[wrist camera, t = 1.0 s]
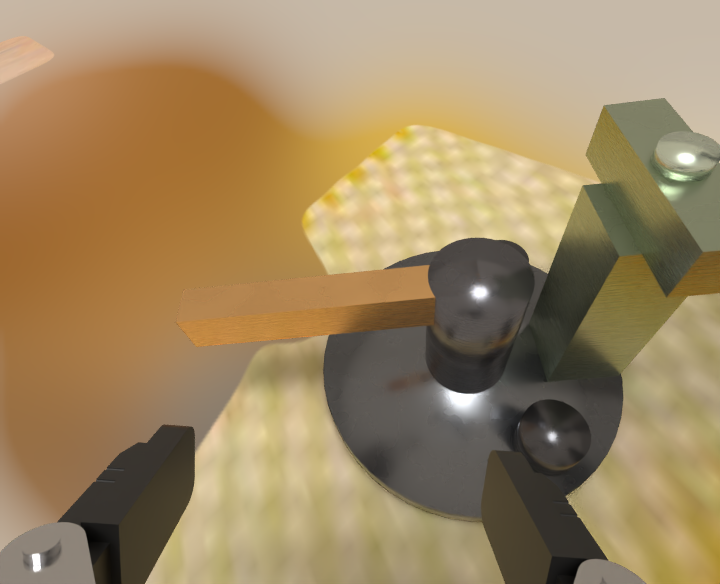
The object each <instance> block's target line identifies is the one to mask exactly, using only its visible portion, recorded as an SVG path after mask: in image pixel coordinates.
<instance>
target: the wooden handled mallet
mask: <svg viewBox="0 0 720 584" xmlns="http://www.w3.org/2000/svg"><path fill="white" fill-rule="evenodd" d="M534 286H535V278H534V273H533V270H532V268H531V266H530V264H529V262H528V261H527V260H526V258H525V257H524V256H523V255H522V254H521V253H520V252H518V251H517V250H516V249H514V248H513V247H511V246H509V245H507V244H505V243H502V242H499V241H496V240H492V239H487V238H468V239H462V240H459V241H456V242H453V243H451V244H449V245H447V246H445V247H444V248H442V249H441V250H440V251H439V252H438V253H437V254H436V255H435V256H434V258H433V259H432V261H431V263H430V265H424V266H414V267H404V268H394V269H384V270H374V271H364V272H354V273H344V274H334V275H324V276H315V277H304V278H294V279H284V280H274V281H264V282H255V283H244V284H234V285H224V286H215V287H204V288H194V289H184V290H183V294H182V299H181V302H180V306H179V310H178V314H177V318H176V323H177V325H178V326H179V327H180V328H181V329H182V330H183V332H184V333H185V334H186V335H187V336H188V337H189V339H190V340H191V341H192V342H193V343H194V345H195V346H196V347H199V346H210V345H221V344H233V343H244V342H255V341H265V340H277V339H287V338H298V337H309V336H320V335H331V334H342V333H353V332H364V331H375V330H386V329H397V328H408V327H419V326H426V352H425V356H426V363H427V366H428V369H429V371H430V373H431V374H432V376H433V377H434V378H435V379H436V380H437V381H438V382H439V383H440V384H441V385H443V386H444V387H446V388H448V389H450V390H453V391H456V392H460V393H479V392H482V391H485V390H487V389H489V388H491V387H492V386H494V385H495V384H496V383H497V382H498V381H499V380H500V378H501V377H502V375H503V373H504V371H505V368H506V365H507V362H508V360H509V357H510V354H511V351H512V349H513V346H514V343H515V340H516V338H517V335H518V332H519V330H520V327H521V324H522V321H523V319H524V316H525V313H526V310H527V308H528V305H529V302H530V299H531V297H532V294H533V291H534Z"/></svg>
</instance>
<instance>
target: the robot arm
mask: <svg viewBox="0 0 720 584" xmlns="http://www.w3.org/2000/svg"><path fill="white" fill-rule="evenodd" d="M194 479H195V434H194V429H193V427H189V426H175V425H162V426H161V427H160V428H159V430H158V431H157V432H156V433H155V434H154V435H153V437H152V438H151V439H150V440H149V441H148V442H147V443H137V444H135V445H133V446H132V447H130V448H128V449H127V450H125V451H123V452H122V453H120V454H119V455H118V456H117V457H116V458H115V459H114V460H113V461H112V463H111V464H110V465H109V466H108V467H107V470H104V471H103V472H102V474H101V475H100V476H99V477H98V478H97V480H96V482H93V483H92V485H91V486H90V487H89V488H88V489H87V490H86V491H85V492H84V493H83V494H82V495H81V497H80V498H79V499H78V500H77V501H76V502H75V503H74V504H73V505H72V506H71V507H70V509H69V510H68V511H67V512H66V513H65V514H64V515H63V516H62V518H60V520H59V521H58V522H57V523H51V524H46V525H43V526H40V527H37V528H34V529H32V530H30V531H28V532H25V533H24V534H22V535H20V536H18V537H17V538H15V539H14V540H13V541H11V542H10V543H9V544H8V545H7V546H6V547H5V548H4V549H3V550H2V551H1V552H0V584H145V582H146V580H147V579H148V577H149V575H150V573H151V571H152V569H153V568H154V566H155V564H156V562H157V560H158V558H159V557H160V555H161V553H162V551H163V549H164V547H165V546H166V544H167V542H168V540H169V538H170V536H171V535H172V533H173V531H174V529H175V527H176V525H177V524H178V522H179V520H180V518H181V516H182V514H183V513H184V511H185V509H186V507H187V505H188V503H189V501H190V498H191V495H192V491H193V487H194ZM481 515H482V521H483V525H484V528H485V531H486V533H487V536H488V539H489V541H490V544H491V547H492V549H493V552H494V554H495V557H496V560H497V562H498V565H499V568H500V570H501V573H502V576H503V578H504V581H505V584H646V583H645V582H644V581H643V580H642V579H641V578H639V577H638V576H637V575H636V574H634V573H633V572H631V571H630V570H628V569H626V568H624V567H623V566H620V565H618V564H616V563H613V562H610V561H608V559H607V558H606V556H605V555H604V553H603V552H602V550H601V549H600V547H599V546H598V544H597V543H596V541H595V540H594V538H593V537H592V536H591V534H590V533H589V531H588V530H587V528H586V527H585V525H584V524H583V522H582V521H581V519H580V518H578V517H577V514H576V512H575V511H574V509H573V508H572V506H571V505H569V504H568V500H567V499H566V497H565V496H564V494H563V493H562V492H561V490H560V489H559V487H558V486H557V485H556V484H554V483H553V482H552V481H551V480H549V479H548V478H547V477H546V476H545V475H543V474H542V473H534V471H533V470H532V468H531V467H530V465H529V463H528V462H527V460H526V459H525V457H524V456H523V454H522V453H521V452H513V451H499V450H492V451H491V452H490V454H489V458H488V464H487V469H486V475H485V481H484V487H483V493H482V499H481Z"/></svg>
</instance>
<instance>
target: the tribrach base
mask: <svg viewBox="0 0 720 584" xmlns="http://www.w3.org/2000/svg"><path fill="white" fill-rule="evenodd" d="M586 156H587V158H588V160H589V161H590V163H591V165H592V167H593V169H594V170H595V172H596V174H597V176H598V178H599V179H600V181H601V183H602V184H593V185H584V186H582V189H581V191H580V194H579V196H578V199H577V201H576V204H575V207H574V209H573V212H572V214H571V217H570V219H569V222H568V224H567V227H566V230H565V232H564V235H563V237H562V240H561V242H560V245H559V248H558V250H557V253H556V255H555V258H554V260H553V263H552V265H551V268H550V271H549V273H548V274H547V273H545V272H543V271H541V270H540V269H538V268H536V267H533V266H531V265H530V266H531V268H532V270H533V273H534V278H535V286H534V291H533V294H532V297H531V299H530V302H529V305H528V308H527V310H526V313H525V316H524V319H523V321H522V324H521V327H520V330H519V332H518V335H517V338H516V340H515V343H514V346H513V349H512V351H511V354H510V357H509V360H508V362H507V365H506V368H505V371H504V373H503V375H502V377H501V378H500V380H499V381H498V382H497V383H496V384H495V385H494V386H492V387H491V388H489V389H487V390H485V391H482V392H479V393H460V392H456V391H453V390H450V389H448V388H446V387H444V386H443V385H441V384H440V383H439V382H438V381H437V380H436V379H435V378H434V377H433V376H432V374H431V373H430V371H429V369H428V366H427V363H426V356H425V352H426V326H419V327H408V328H397V329H386V330H375V331H364V332H353V333H342V334H331V335H329V337H328V341H327V346H326V350H325V356H324V369H323V371H324V387H325V392H326V397H327V401H328V405H329V408H330V411H331V414H332V417H333V419H334V422H335V424H336V427H337V429H338V431H339V433H340V435H341V437H342V439H343V441H344V442H345V444H346V446H347V448H348V449H349V451H350V452H351V454H352V455H353V456H354V458H355V459H356V461H357V462H358V463H359V464H360V466H361V467H362V468H363V469H364V470H365V471H366V472H367V473H368V474H369V475H370V476H371V477H372V478H373V479H374V480H375V481H376V482H378V483H379V484H380V485H381V486H382V487H384V488H385V489H386V490H387V491H389V492H390V493H392V494H393V495H395V496H397V497H398V498H400V499H401V500H403V501H405V502H406V503H408V504H411V505H413V506H415V507H417V508H419V509H422V510H424V511H426V512H429V513H432V514H436V515H439V516H442V517H446V518H450V519H457V520H463V521H470V522H483V521H482V515H481V499H482V493H483V487H484V481H485V475H486V469H487V464H488V458H489V454H490V452H491V451H492V450H499V451H513V452H521V453H522V454H523V456H524V457H525V459H526V460H527V462H528V463H529V465H530V467H531V468H532V470H533V471H534V473H542V474H543V475H545V476H546V477H547V478H548V479H549V480H551V481H552V482H553V483H554V484H556V485H557V486H558V487H559V489H560V490H561V492H562V493H563V494H564V496H566V495H568V494H569V493H571V492H572V491H573V490H575V489H576V488H577V487H579V486H580V485H581V484H582V483H583V482H584V481H585V480H586V479H587V478H588V477H589V476H590V475H591V474H592V473H593V472H594V471H595V470H596V469H597V468H598V466H599V465H600V464H601V462H602V461H603V459H604V458H605V457H606V455H607V454H608V452H609V449H610V447H611V445H612V443H613V441H614V439H615V437H616V434H617V430H618V427H619V423H620V420H621V414H622V405H623V387H622V377H621V372H622V371H623V370H624V369H625V368H626V367H627V366H628V364H629V363H630V362H631V361H632V360H633V359H634V357H635V356H636V355H637V354H638V353H639V352H640V351H641V349H642V348H643V347H644V346H645V345H646V344H647V342H648V341H649V340H650V339H651V338H652V337H653V336H654V334H655V333H656V332H657V331H658V330H659V329H660V327H661V326H662V325H663V324H664V323H665V322H666V321H667V319H668V318H669V317H670V316H671V315H672V314H673V312H674V311H675V310H676V309H677V308H678V307H679V306H680V304H681V303H682V302H683V301H684V300H685V299H686V297H687V296H693V295H703V294H714V293H720V163H719V161H720V145H719V144H718V143H717V142H716V141H714V140H713V139H711V138H709V137H707V136H705V135H702V134H699V133H694V132H693V131H692V130H691V129H690V128H689V127H688V125H687V124H686V123H685V122H684V121H683V119H682V118H681V117H680V116H679V115H678V114H677V112H675V110H674V109H673V108H672V106H671V105H670V104H669V103H668V102H667V101H666V99H665V98H661V99H653V100H645V101H636V102H628V103H620V104H611V105H604V106H603V109H602V112H601V114H600V117H599V120H598V123H597V125H596V128H595V131H594V133H593V136H592V139H591V141H590V144H589V147H588V149H587V152H586ZM496 241H499V242H502V243H505V244H507V245H509V246H511V247H513V248H514V249H516V250H517V251H518V252H520V253H521V254H522V255H523V256H524V257H525V258H526V260H527V261H528V262H529V258H528V255H527V253H526V252H525V250H524V249H523V248H522V247H520V246H519V245H517V244H516V243H513V242H510V241H506V240H496ZM438 252H439V251H436V252H429V253H425V254H421V255H417V256H413V257H410V258H407V259H405V260H402V261H399V262H397V263H395V264H393V265H391V266H389V267H387V268H385V269H394V268H404V267H414V266H424V265H430V263H431V261H432V259H433V258H434V256H435V255H436V254H437V253H438ZM383 270H384V269H383Z"/></svg>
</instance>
